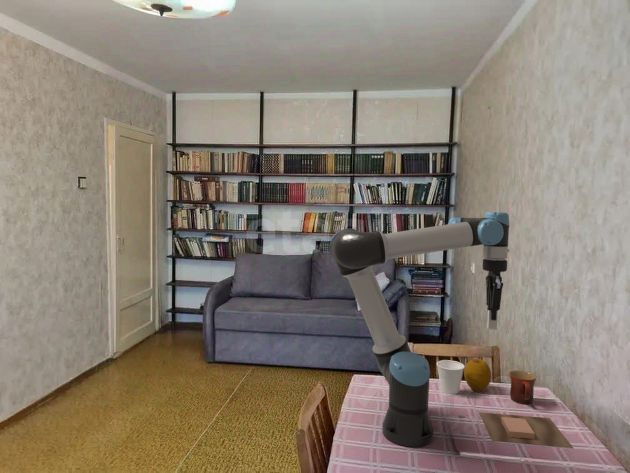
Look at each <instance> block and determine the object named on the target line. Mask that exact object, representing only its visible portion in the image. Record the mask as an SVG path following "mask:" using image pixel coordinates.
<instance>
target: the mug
mask: <svg viewBox="0 0 630 473" xmlns="http://www.w3.org/2000/svg"><path fill="white" fill-rule="evenodd" d="M508 374H509V379H510V390H509V392H510V393H509V397H510V400H511V401H512V402H514V403H516V404H519V405H532V404H533V403H534V388H535V387H534V386H535V384H536V380H537V378H538V377H537V375H536V374H534V373H532V372H529V371H525V370H520V369H519V370H510V371H509V373H508Z"/></svg>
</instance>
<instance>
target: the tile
mask: <svg viewBox="0 0 630 473" xmlns="http://www.w3.org/2000/svg"><path fill="white" fill-rule="evenodd" d="M501 423H502V424H503V426H504V428H505V430H506V432H507V433H508V435H509V437H517V438H528V439H534V437H535V433H534V432H533V430H532V429H531V427H530V426H529V424H528V423H527V421H526V420H525V419H521V418H509V417H501Z"/></svg>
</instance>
